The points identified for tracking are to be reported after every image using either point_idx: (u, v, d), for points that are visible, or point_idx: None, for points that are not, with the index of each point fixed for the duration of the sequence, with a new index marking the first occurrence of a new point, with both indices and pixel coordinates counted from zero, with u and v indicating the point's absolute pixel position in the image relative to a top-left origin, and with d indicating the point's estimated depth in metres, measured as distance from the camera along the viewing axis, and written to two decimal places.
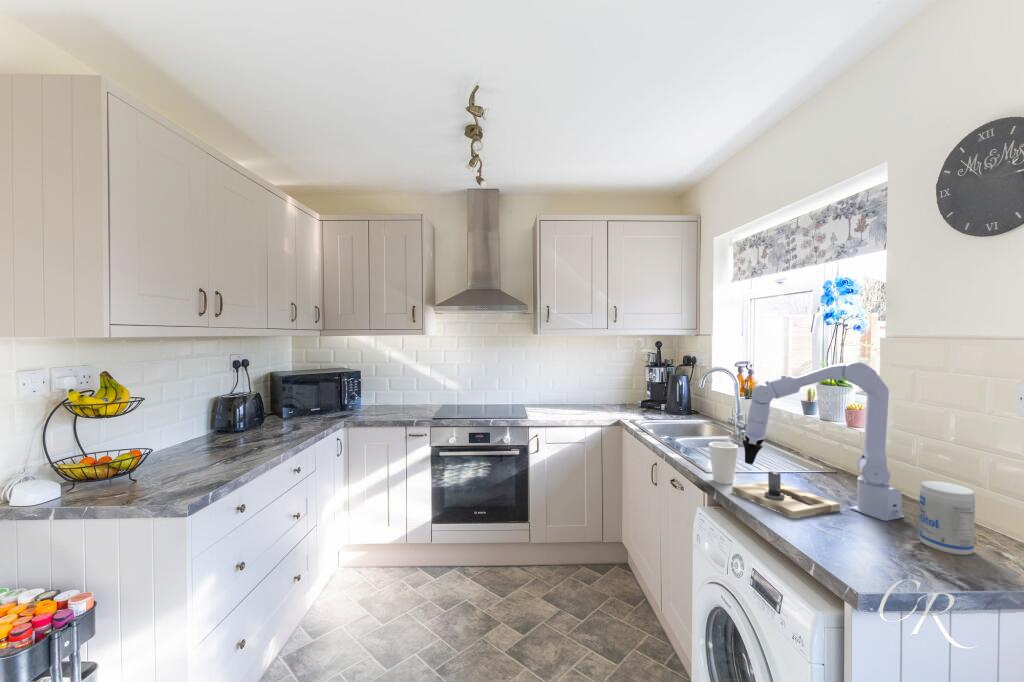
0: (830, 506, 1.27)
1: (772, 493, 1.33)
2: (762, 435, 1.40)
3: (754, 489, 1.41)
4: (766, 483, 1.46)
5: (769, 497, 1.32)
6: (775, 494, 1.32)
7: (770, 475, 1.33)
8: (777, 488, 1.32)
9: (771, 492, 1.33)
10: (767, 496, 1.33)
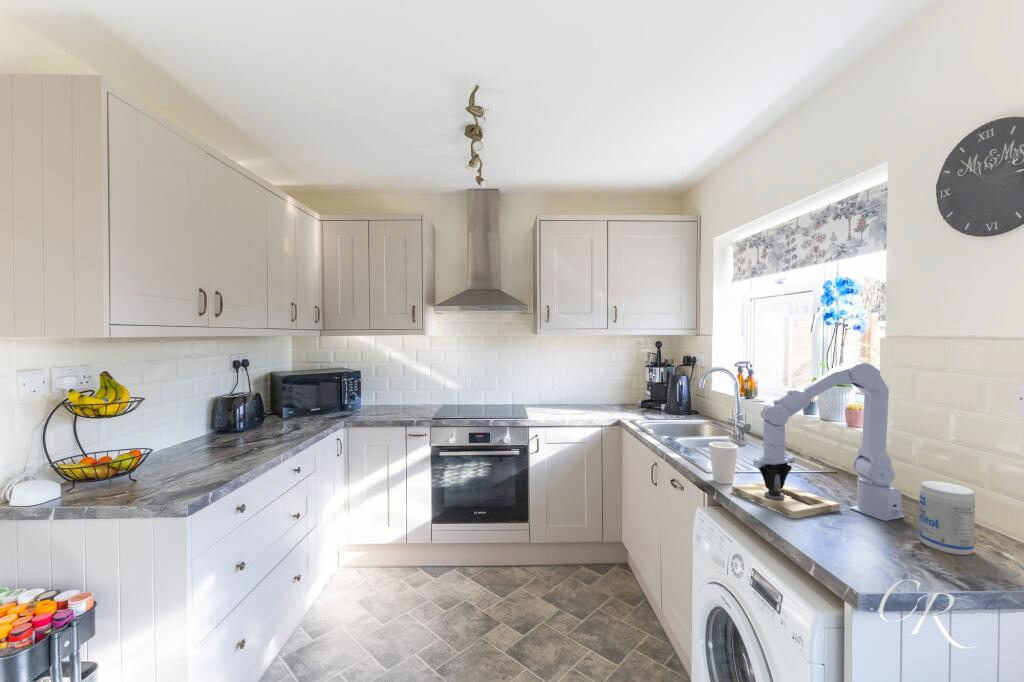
0: (830, 506, 1.27)
1: (772, 493, 1.33)
2: (776, 459, 1.31)
3: (754, 489, 1.41)
4: None
5: (769, 497, 1.32)
6: (775, 494, 1.32)
7: None
8: (777, 488, 1.32)
9: (771, 492, 1.33)
10: (767, 496, 1.33)
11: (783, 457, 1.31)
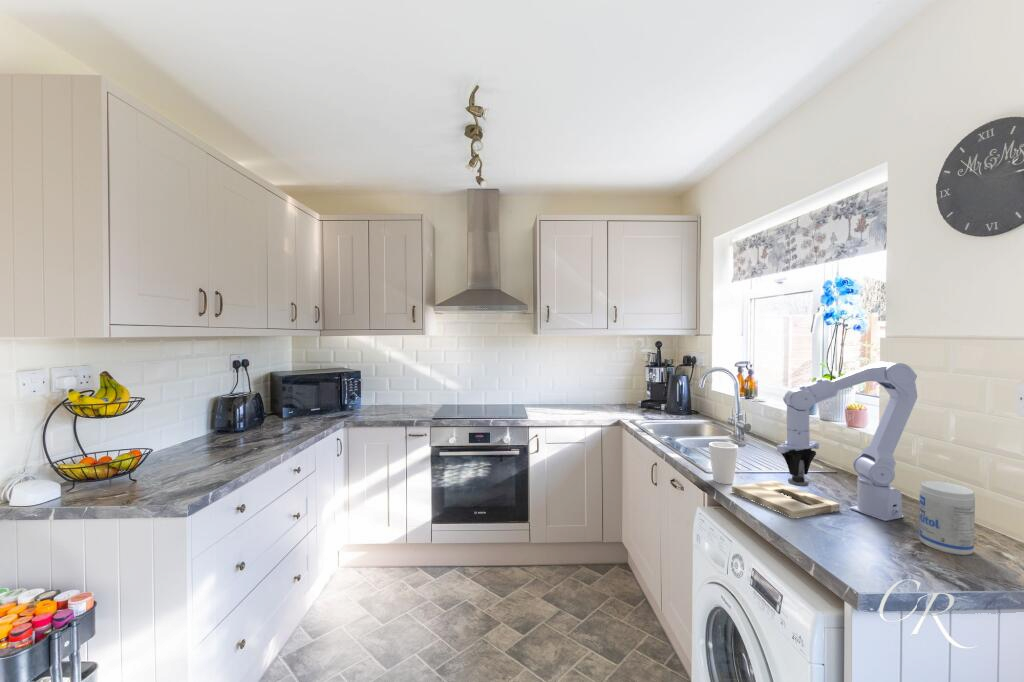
0: (830, 506, 1.27)
1: (796, 479, 1.31)
2: (800, 444, 1.29)
3: (754, 489, 1.41)
4: (766, 483, 1.46)
5: (794, 483, 1.30)
6: (799, 480, 1.30)
7: None
8: (802, 474, 1.30)
9: (795, 478, 1.31)
10: (791, 482, 1.31)
11: (807, 442, 1.29)
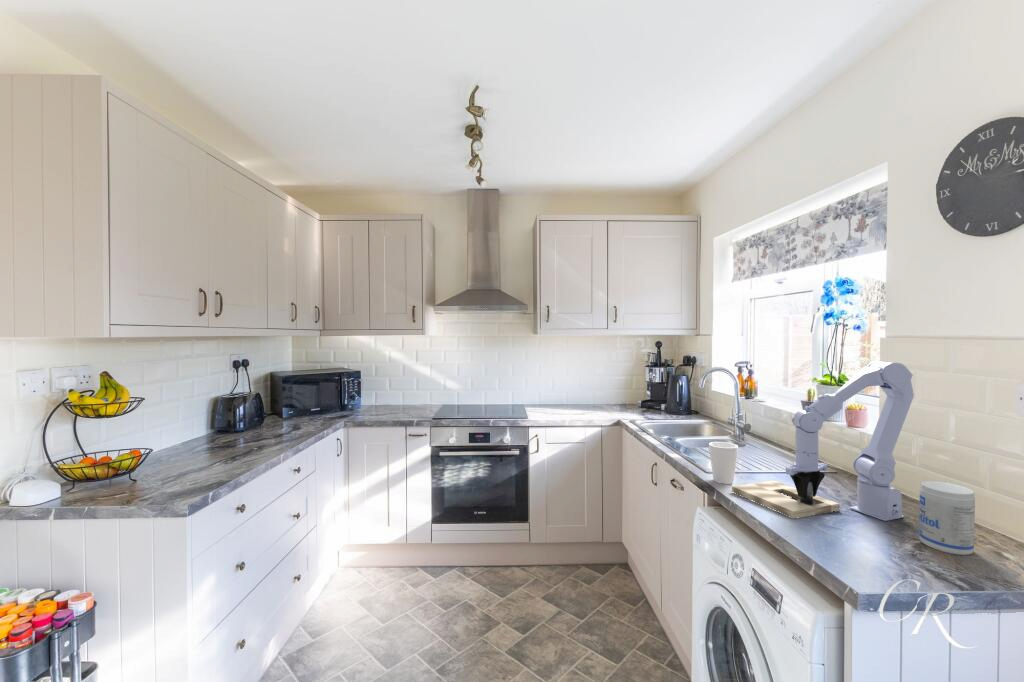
0: (830, 506, 1.27)
1: (805, 501, 1.30)
2: (809, 467, 1.28)
3: (754, 489, 1.41)
4: (766, 483, 1.46)
5: None
6: (808, 502, 1.30)
7: None
8: (810, 496, 1.30)
9: (804, 500, 1.30)
10: None
11: (816, 465, 1.29)
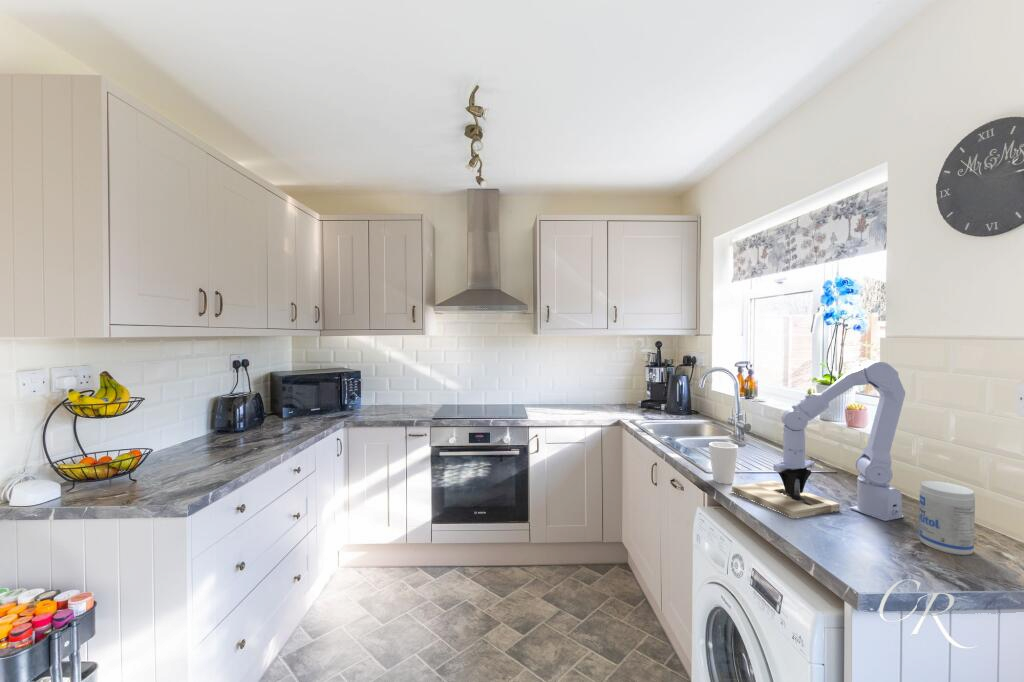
0: (830, 506, 1.27)
1: (792, 498, 1.34)
2: (796, 464, 1.32)
3: (754, 489, 1.41)
4: (766, 483, 1.46)
5: None
6: (795, 499, 1.34)
7: None
8: (797, 492, 1.34)
9: None
10: None
11: (803, 462, 1.32)
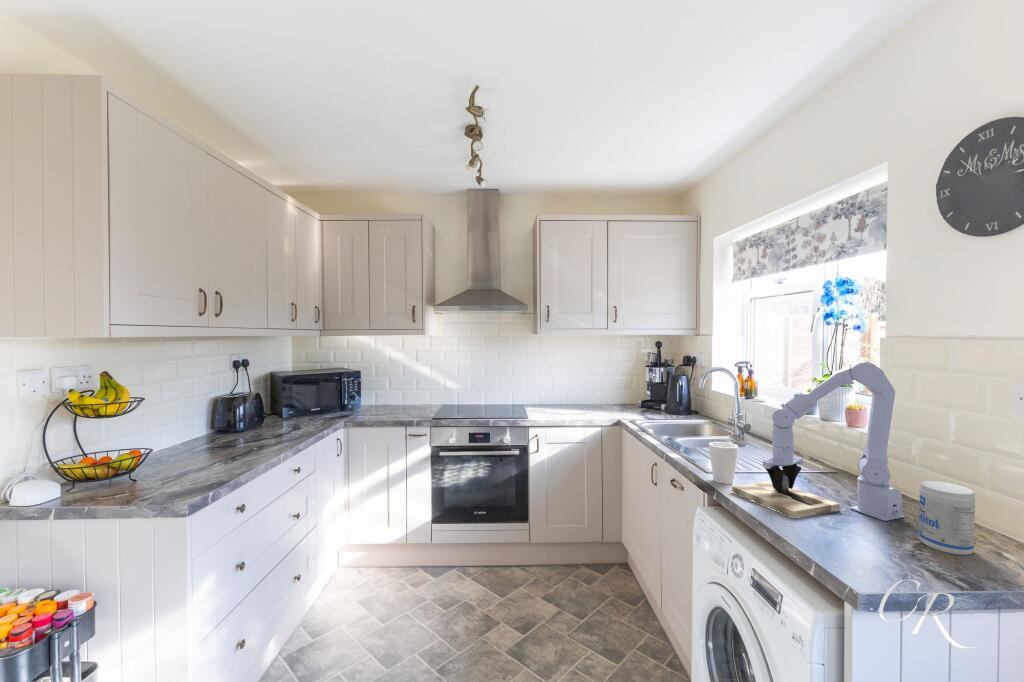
0: (830, 506, 1.27)
1: None
2: (784, 460, 1.36)
3: (754, 489, 1.41)
4: (766, 483, 1.46)
5: None
6: None
7: None
8: (786, 489, 1.37)
9: None
10: None
11: (791, 459, 1.36)
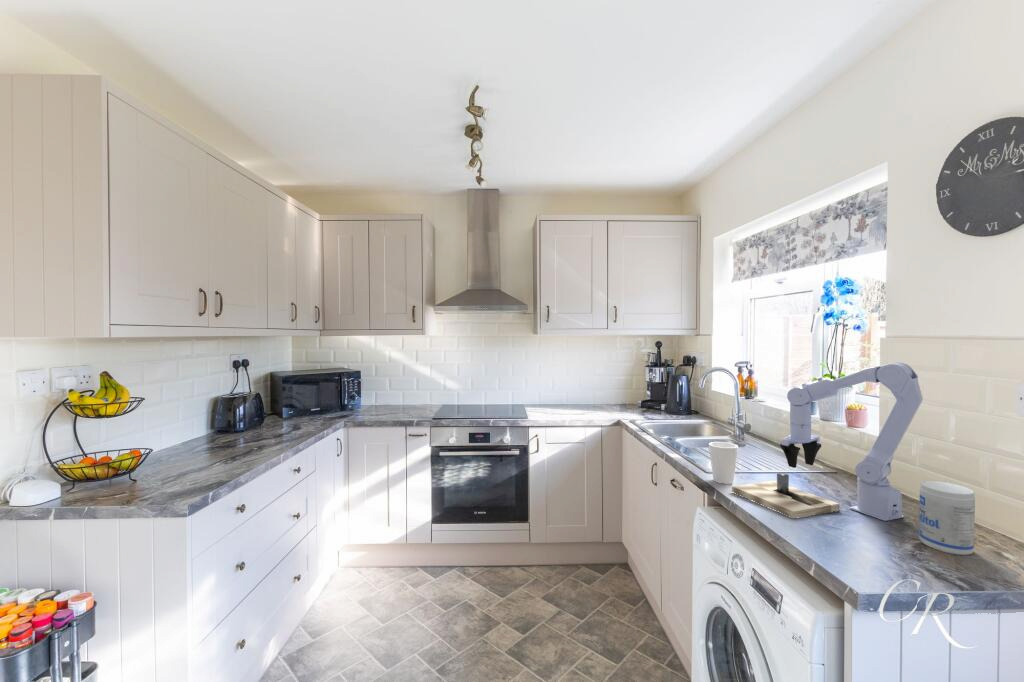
0: (830, 506, 1.27)
1: None
2: (803, 438, 1.39)
3: (754, 489, 1.41)
4: (766, 483, 1.46)
5: None
6: None
7: (779, 477, 1.38)
8: (786, 489, 1.37)
9: None
10: None
11: (809, 436, 1.39)
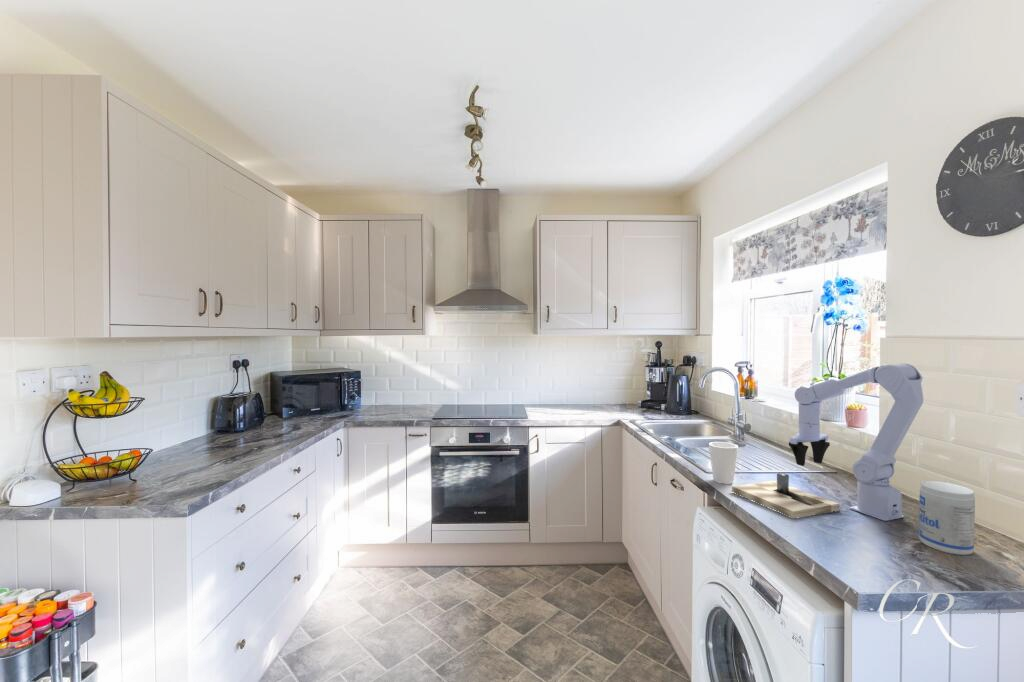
0: (830, 506, 1.27)
1: None
2: (811, 436, 1.41)
3: (754, 489, 1.41)
4: (766, 483, 1.46)
5: None
6: None
7: (779, 477, 1.38)
8: (786, 489, 1.37)
9: None
10: None
11: (818, 434, 1.41)
